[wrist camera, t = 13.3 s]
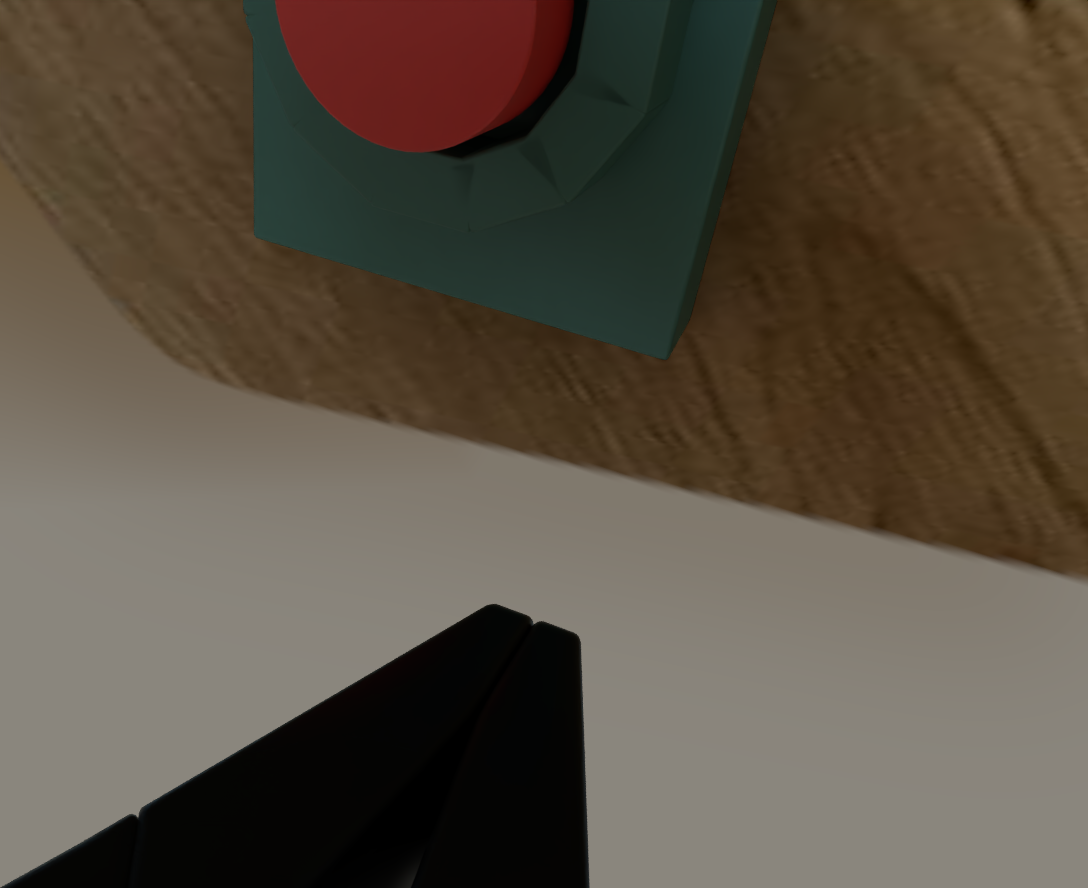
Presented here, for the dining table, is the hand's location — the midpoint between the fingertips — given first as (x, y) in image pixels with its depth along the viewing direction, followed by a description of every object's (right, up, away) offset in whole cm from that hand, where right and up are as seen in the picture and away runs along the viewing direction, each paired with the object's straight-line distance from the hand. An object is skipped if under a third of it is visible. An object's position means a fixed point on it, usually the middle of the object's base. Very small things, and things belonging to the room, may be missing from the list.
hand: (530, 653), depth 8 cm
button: (-1, +9, +6) cm, 11 cm away
